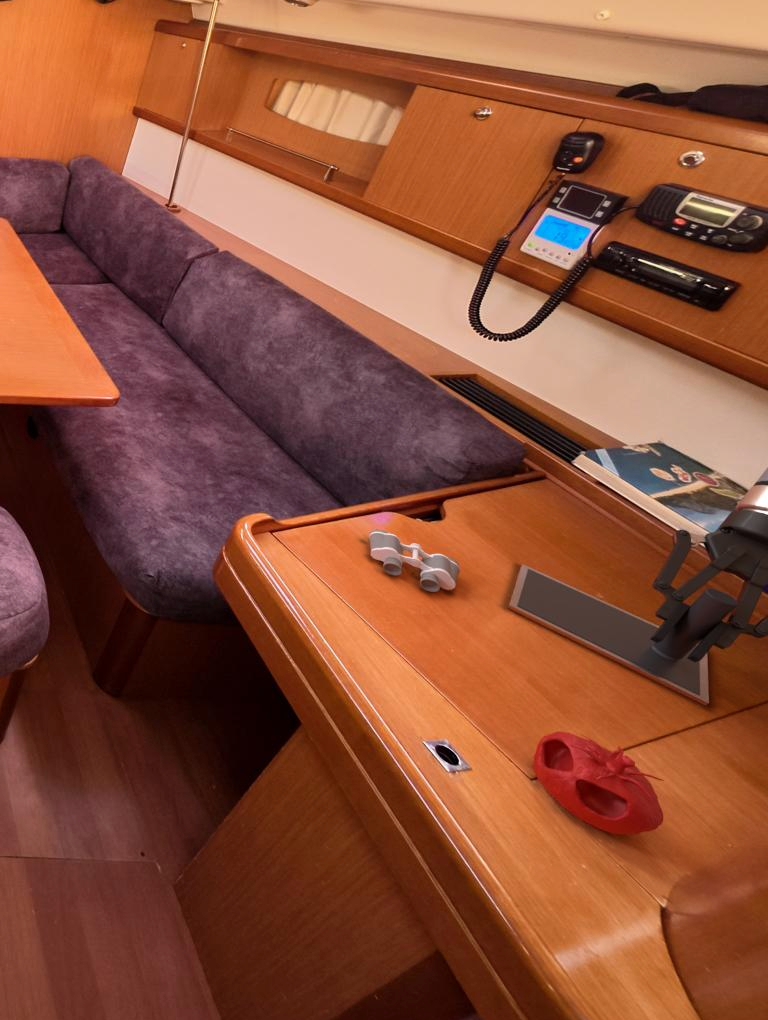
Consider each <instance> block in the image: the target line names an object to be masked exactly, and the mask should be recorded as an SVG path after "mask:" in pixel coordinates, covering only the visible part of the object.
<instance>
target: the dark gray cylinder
mask: <svg viewBox="0 0 768 1020" xmlns="http://www.w3.org/2000/svg"><path fill="white" fill-rule="evenodd" d="M736 600H737V599H735V598H734V597H732V596H731V595H729V594H727V593H726V592H724V591H721V590H718V589H714V588H707V589H704V591H703V592H702V593H701V594H700V595H699V596H698V597H697V598H696V599H695V600H694V602H692V603H691V605H690V608H689V609H688V610H687V611H686V612H685V614H684V615H683V616H682V617H681V619H680V620H679V621H678V622H677V623H676V625H675V626H674V627H673V628H672V630H671V631H670V632H669V633H668V634H667V636H666V637H665V638H664V639H663V640H662V641H660V642H658V643H656V642H654V645H653V646H652V649H653V650H654V651H655V652H656V653H657V654H659V655H660V656H662V657H664V658H666V659H668V660H671V661H679V660H680V659H682V658H683V657H685V656H686V655H687V654H688V653H689V652H690V651H691V650H692V649H693V648H694V647H695V646H696V645H697V644H699V643H700V641H701V640H702V639H703V638H704V637H705V636H706V635H707V634H708V633H709V632H710V631H711V630H712V629H713V628H714V627H715V626H716V625H717V624H718V623H720V622H721V621H724V619H725V618H726V617H727V616H728V615H730V614H731V612H732V610H733V609H734V608H735V607H736V606H737V605H738V602H737V601H736Z"/></svg>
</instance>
